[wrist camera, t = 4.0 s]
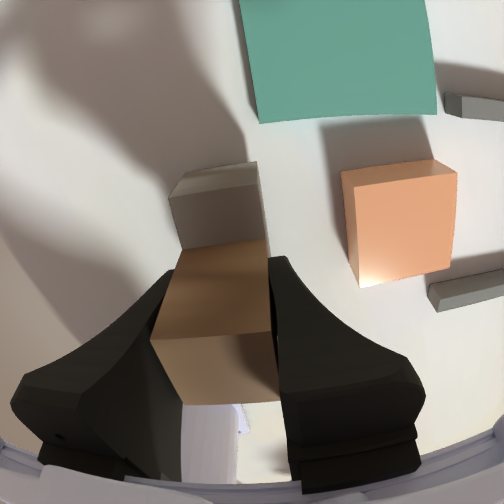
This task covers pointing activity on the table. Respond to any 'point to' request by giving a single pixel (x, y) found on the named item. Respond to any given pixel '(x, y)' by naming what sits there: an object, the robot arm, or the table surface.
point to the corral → (481, 284)
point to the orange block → (399, 219)
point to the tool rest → (339, 58)
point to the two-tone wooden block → (220, 292)
